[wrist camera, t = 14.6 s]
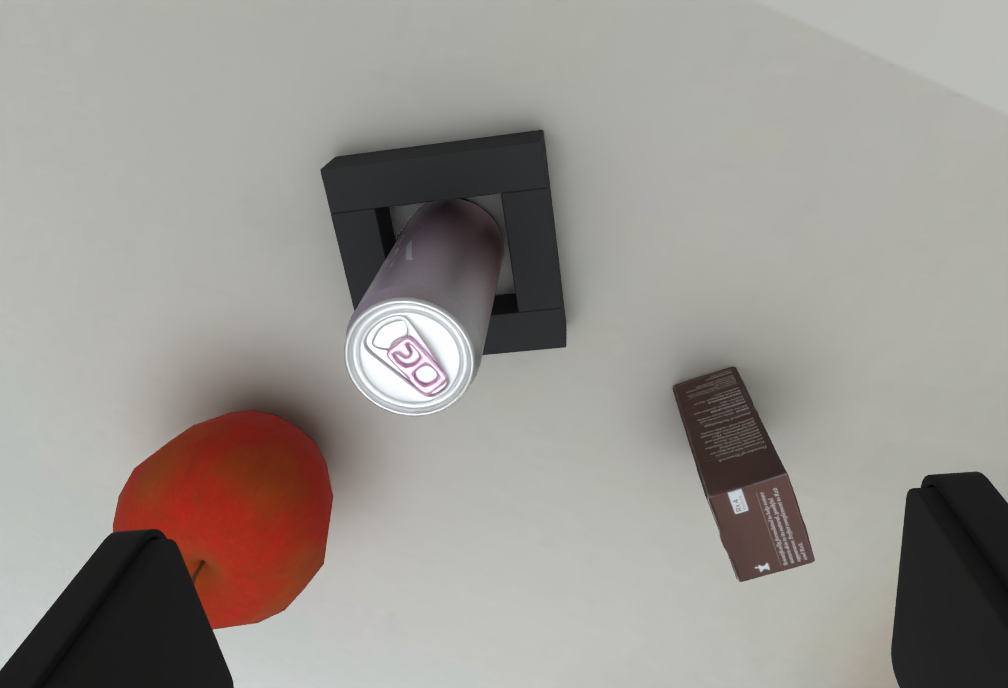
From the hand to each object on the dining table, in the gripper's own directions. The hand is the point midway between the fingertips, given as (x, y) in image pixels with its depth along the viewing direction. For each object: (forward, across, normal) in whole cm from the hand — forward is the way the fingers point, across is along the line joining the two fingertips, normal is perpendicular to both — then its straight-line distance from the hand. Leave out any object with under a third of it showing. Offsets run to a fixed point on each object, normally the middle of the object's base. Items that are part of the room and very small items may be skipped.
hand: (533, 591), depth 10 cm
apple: (+36, +22, +20) cm, 47 cm away
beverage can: (+36, +7, +7) cm, 38 cm away
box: (+36, -8, +20) cm, 42 cm away
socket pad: (+36, +7, +7) cm, 38 cm away
